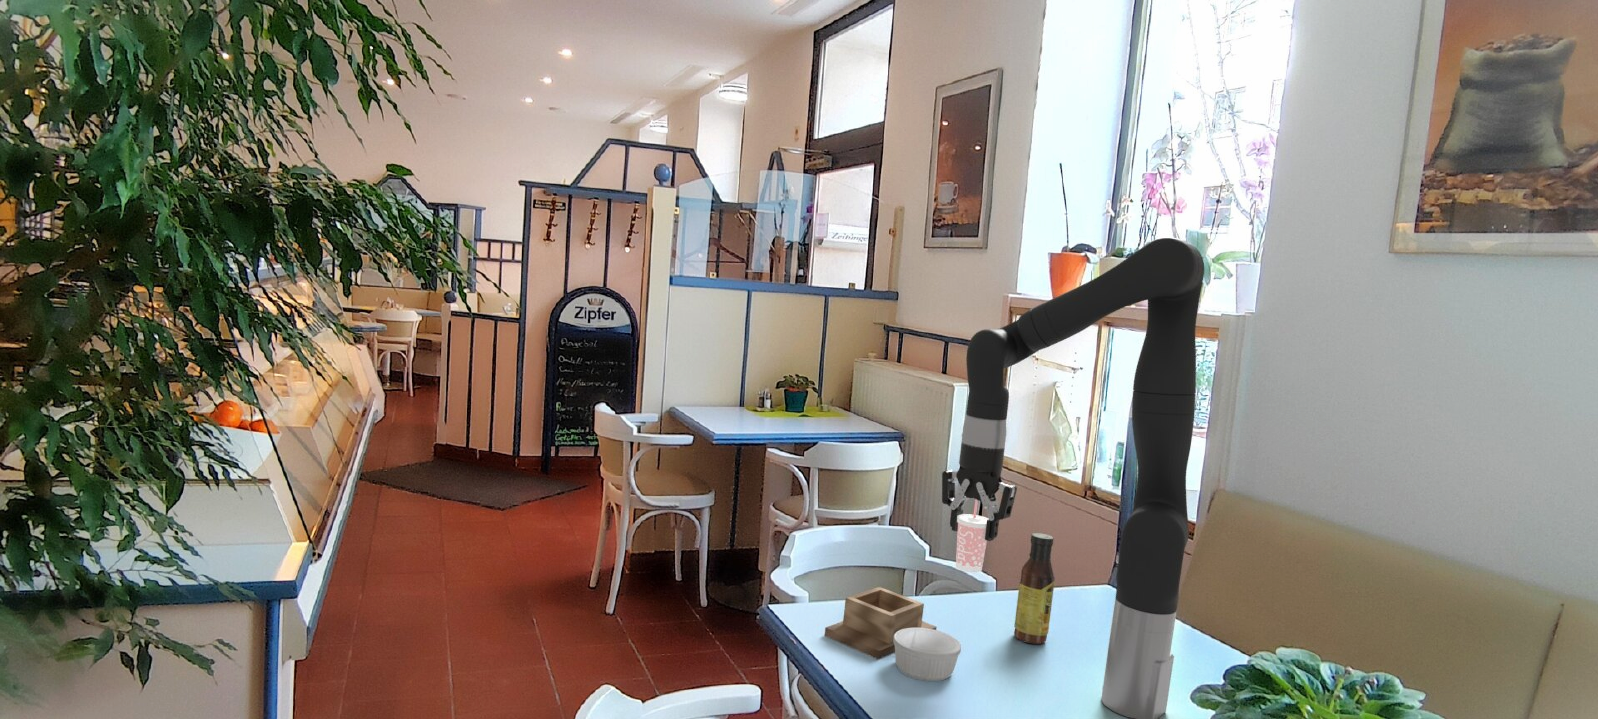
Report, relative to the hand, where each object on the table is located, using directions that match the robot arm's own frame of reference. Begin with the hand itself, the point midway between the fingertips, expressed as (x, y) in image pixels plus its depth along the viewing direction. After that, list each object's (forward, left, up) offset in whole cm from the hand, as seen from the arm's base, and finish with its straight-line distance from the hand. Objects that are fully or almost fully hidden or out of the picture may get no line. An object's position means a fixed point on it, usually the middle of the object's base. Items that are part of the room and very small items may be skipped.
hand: (972, 534), depth 162 cm
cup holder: (+12, +7, -21) cm, 25 cm away
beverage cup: (0, 0, -6) cm, 6 cm away
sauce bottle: (-6, -16, -21) cm, 27 cm away
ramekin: (-1, +13, -21) cm, 25 cm away
